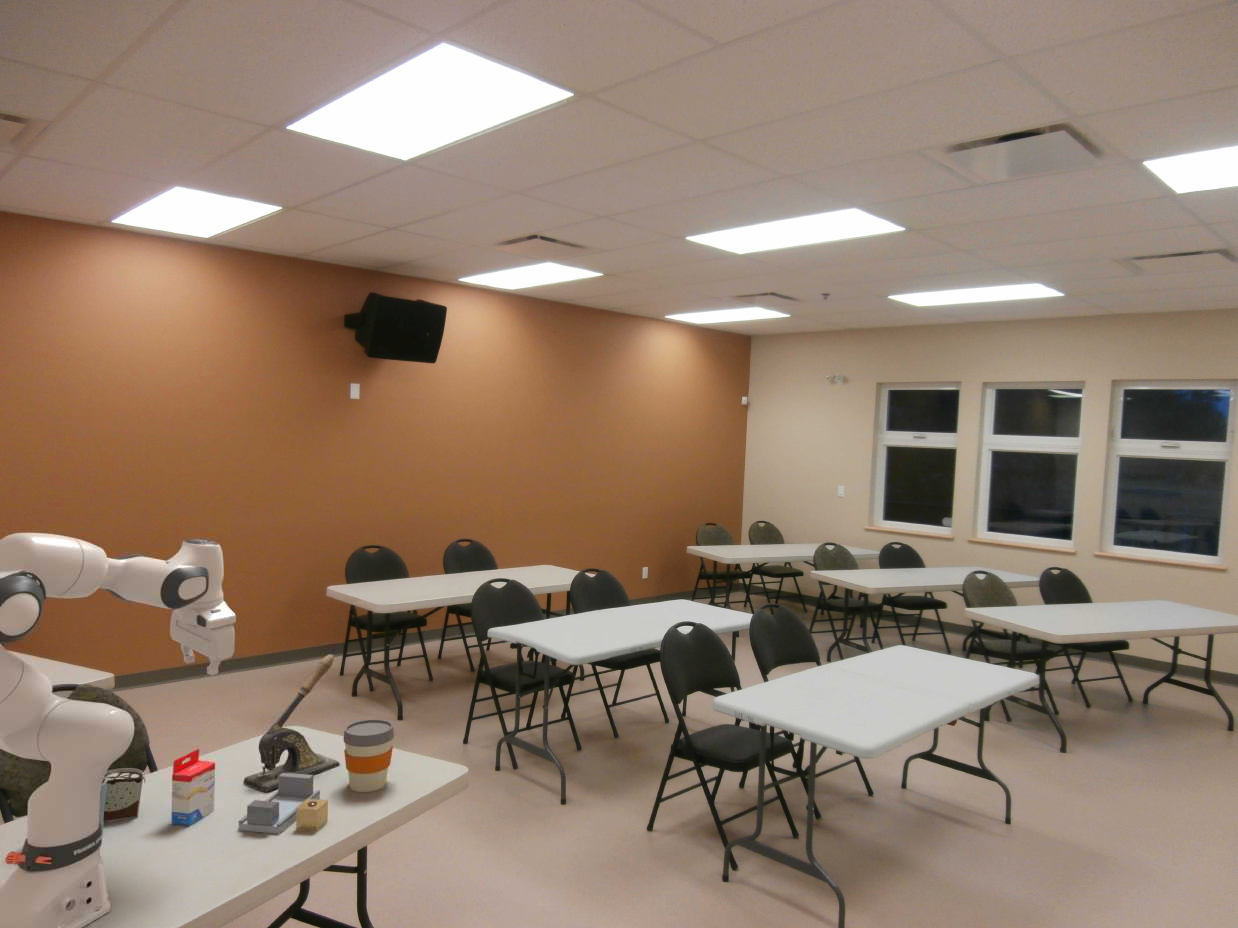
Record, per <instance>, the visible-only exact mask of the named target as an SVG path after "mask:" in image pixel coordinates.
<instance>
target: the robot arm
mask: <svg viewBox="0 0 1238 928" xmlns="http://www.w3.org/2000/svg"><path fill="white" fill-rule="evenodd" d="M224 568H225V567H224V556H223V549H222V547H221V545H220V544H219V543H218V542H216V541H213V540H209V539H198V538H191V539H186V540H183V541H182V544H181V547H180V549H179V550H178V551H177V552H176V554H175V555H173V556H172V557H171V558H169V559H166V560H164V559H158V558H154V557H151V556H150V557H149V556H146V555H143V554H140V553H139V554H138V553H134V554H133V553H132V554H131V553H130V554H127V555H123V556H120V557H115V558H113V557H112V558H111V557H107V553H106V552H105V550H104V549H103V548H102V547H100V546H98V545H95V544H93V543H91V542H88V541H85V540H84V539H79V538H75V537H72V536H66V535H61V534H55V533H43V532H42V533H41V532H16V533H15V532H14V533H12V534H8V535H6V536H4V537H3V538H1V539H0V750H3V751H4V752H7V753H8V754H11V755H14V756H16V757H19V758H22V759H30V760H37V761H38V760H39V761H44V762H49V763H50V766H51V770H50V775H49V778H48V781H46V782H44V783H43V784H41V785H40V786H39V787H37V788H36V789H35V790H34V791H33V793H32V794H31V795H30V797H29V798H28V800H27V824H26V825H27V832H26V833H27V834H26V835H27V836H26V837H27V838H26V839H25V841H24V843H23V845H22V847H21V848H22V849H21V850H20V852H17V851H9V852H8V853H7V854H6V856H5V860H4V861H5V864H6V865H14V866H15V865H17V867H16V868H15V870H14V871H13V872H12V873H11V874H10V876H9V878H7V879H6V881H5V882H4V884H3V885H2V886H1V888H0V928H84V927H86V926H87V925H88V924H89V925H90V924H91V923H92V922H94V921H95V920H97V919H99V918H100V917H102V916H105V915H106V914H108V913H109V912H110V911H112V905H111V902H110V900H109V892H108V891H109V890H108V888H107V884H106V875H105V868H104V863H103V859H102V855H101V850H100V849H101V845H102V843H103V834H104V833H102V825H101V823H100V822H99V809H100V792H101V786H102V782H103V779H104V776H105V774H106V772H107V771H109V768H110V766H111V765H112V764H113V763H114V762H115V761H117V760H118V759H119V758H121V757H122V756H123V755H124V754H125V753H126V752H127V750H128V749H129V747H130V746H131V743H132V741H133V738H134V734H135V723H134V719H133V716H132V715H131V714H130V713H129V711H127V710H124V709H121V708H119V707H117V706H114V705H111V704H108V703H105V702H93V701H84V700H76V699H69V698H66V697H62V696H58V695H57V694H54V693H53V684H52V681H51V680H50V678H49V677H48V676H46V675H45V674H44V673H42V672H41V671H40V670H38V669H36V668H35V667H33V666H32V665H30V664H29V663H28V662H25V660H23V659H21V658H20V657H18V656H17V655H15V654H13V653H12V652H11V651H8V650H7V649H6V648H5V647H4V646H3V644H11V643H14V642H18V641H20V640H23V639H24V638H25V637H27V636H28V635H29V634H30V633H31V632H32V631H33V630H34V629H35V627H36V625H37V624H38V623H39V621H40V619H41V616H42V615H43V611H44V608H45V600H46V597H49V598H53V599H54V598H56V599H76V598H79V599H80V598H86V597H89V596H91V595H92V594H93V593H95V592H96V591H97V590H99V589H104V590H106V591H107V592H109V594H111V595H112V596H113V597H114V598H116V599H118V600H120V601H126V602H135V603H140V604H145V605H147V606H153V607H159V608H163V609H168V610H172V613H171V617H170V626H169V635H170V638H171V639H172V640H173V641H175V642H177V643H179V644H180V648H181V652H182V654H183V662H185V663H186V664H191V663H194V662H195V661H196V659H195V658H196V655H195V654H194V651H195V652H198V653H199V654H201V655H203V656H205V657H206V658H207V657H208V659H209V665H208V666H206V674H208V675H210V676H214V675H215V676H216V675H217V674H218V673H219V666H220V665H221V662H222V661H225V660H229V659H231V658H232V657H233V655H234V652H235V644H236V643H235V641H236V639H235V637H236V635H235V633H236V632H235V628H234V625H233V624H235V623H236V621H237V616H236V614H235V612H234V611H233V610H232V609H231V608H230V607H229V606H228V604H227V602H226V601H225V600H224V591H223V588H222V584H223V581H224V575H225V574H224V573H225V571H224Z"/></svg>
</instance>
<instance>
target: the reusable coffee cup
mask: <svg viewBox="0 0 1238 928" xmlns="http://www.w3.org/2000/svg"><path fill="white" fill-rule="evenodd" d="M394 730H395V729H394V724H393V723H392V722H390V721H389V720H384V719H372V718H371V719H364V720H363V719H362V720H358V721H354V722H352V723H350V724H348V725H346V726H345V728H344V733H343V739H342V740H343V742H344V745H345V749H344V751H343V752H344V753H343V754H344V760H345V769H346V770H347V771H348V772H347V773H348V781H349V787H350V789H351V790H352V791H355V792H360V793H369V792H374V791H379V790H380V789H383V788H384V787H385V786H386V784H387V777H388V772H389V767H390V766H391V763H392V754H393V747H394V746H393V745H392V743H393V739H394V737H395V732H394Z"/></svg>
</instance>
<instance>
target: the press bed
mask: <svg viewBox="0 0 1238 928" xmlns="http://www.w3.org/2000/svg"><path fill="white" fill-rule="evenodd" d="M307 799H318V800H321V790H319V789H318V790H317V789H316V790H315V791H314V775H306V774H293V773H282V774H281V775H279V777H278V788H277V791H275V792H274V793H273V794H271V795H270V796H269V797H268V798H267V799H265V800H264V801H272V802H279V820H278V821H276V822H275V823H274V824H273V825H272V826H271V825H260V824H248V823H247V814H246V815H245V816H243V817H241V818H240V820H238V831H244V832H245V831H246V832H258V833H268V834H278V835H279V834H281V833H282V832H284V831H285V830H286V829H287V828H288V827H289V826H290V825H292V823H294V822H295V821H296V810H297V807H299V806H300V805H301V804H302V803H303V802H304V801H306V800H307Z"/></svg>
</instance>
